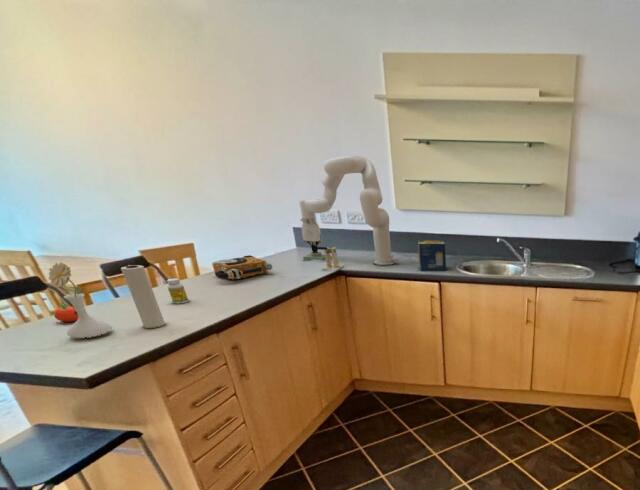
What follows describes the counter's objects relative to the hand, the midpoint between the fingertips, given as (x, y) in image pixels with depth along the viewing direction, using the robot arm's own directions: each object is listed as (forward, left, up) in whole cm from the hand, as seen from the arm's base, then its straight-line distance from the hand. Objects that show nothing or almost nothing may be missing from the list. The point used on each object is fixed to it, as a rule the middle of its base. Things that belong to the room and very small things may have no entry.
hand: (315, 252), depth 259 cm
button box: (0, 0, -4) cm, 4 cm away
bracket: (-20, +24, -4) cm, 32 cm away
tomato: (+38, +122, -5) cm, 128 cm away
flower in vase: (+18, +135, -5) cm, 136 cm away
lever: (-20, +29, +6) cm, 36 cm away
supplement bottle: (+17, +95, -5) cm, 97 cm away
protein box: (-76, +14, -5) cm, 78 cm away
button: (0, 0, -2) cm, 2 cm away
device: (+18, +49, -5) cm, 52 cm away
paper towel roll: (+6, +123, -5) cm, 123 cm away
